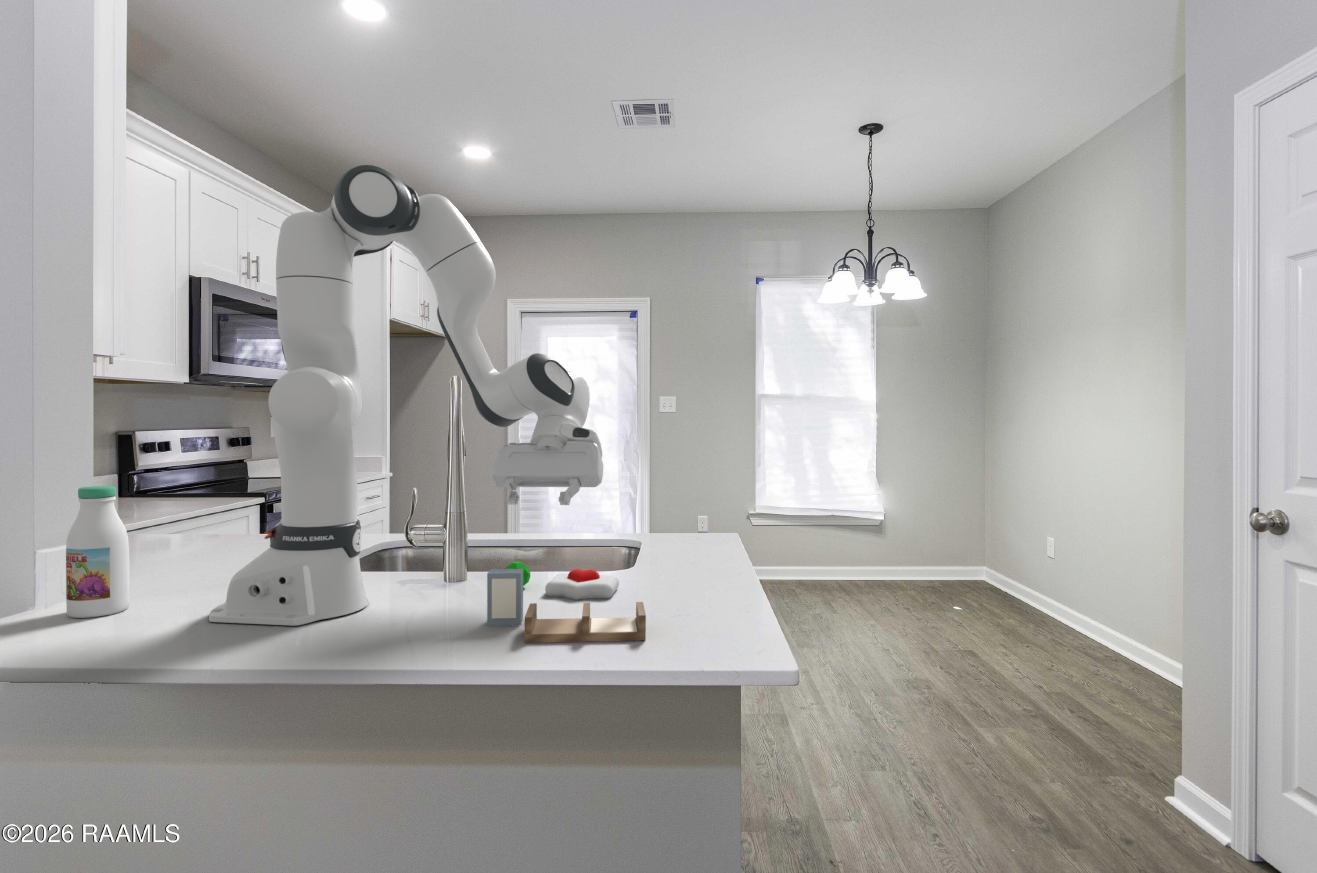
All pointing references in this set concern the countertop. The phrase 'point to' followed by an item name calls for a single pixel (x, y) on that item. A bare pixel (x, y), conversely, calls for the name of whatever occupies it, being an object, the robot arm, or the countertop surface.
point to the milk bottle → (97, 557)
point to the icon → (582, 585)
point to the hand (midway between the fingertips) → (537, 502)
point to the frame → (504, 597)
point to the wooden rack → (584, 627)
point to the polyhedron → (521, 566)
